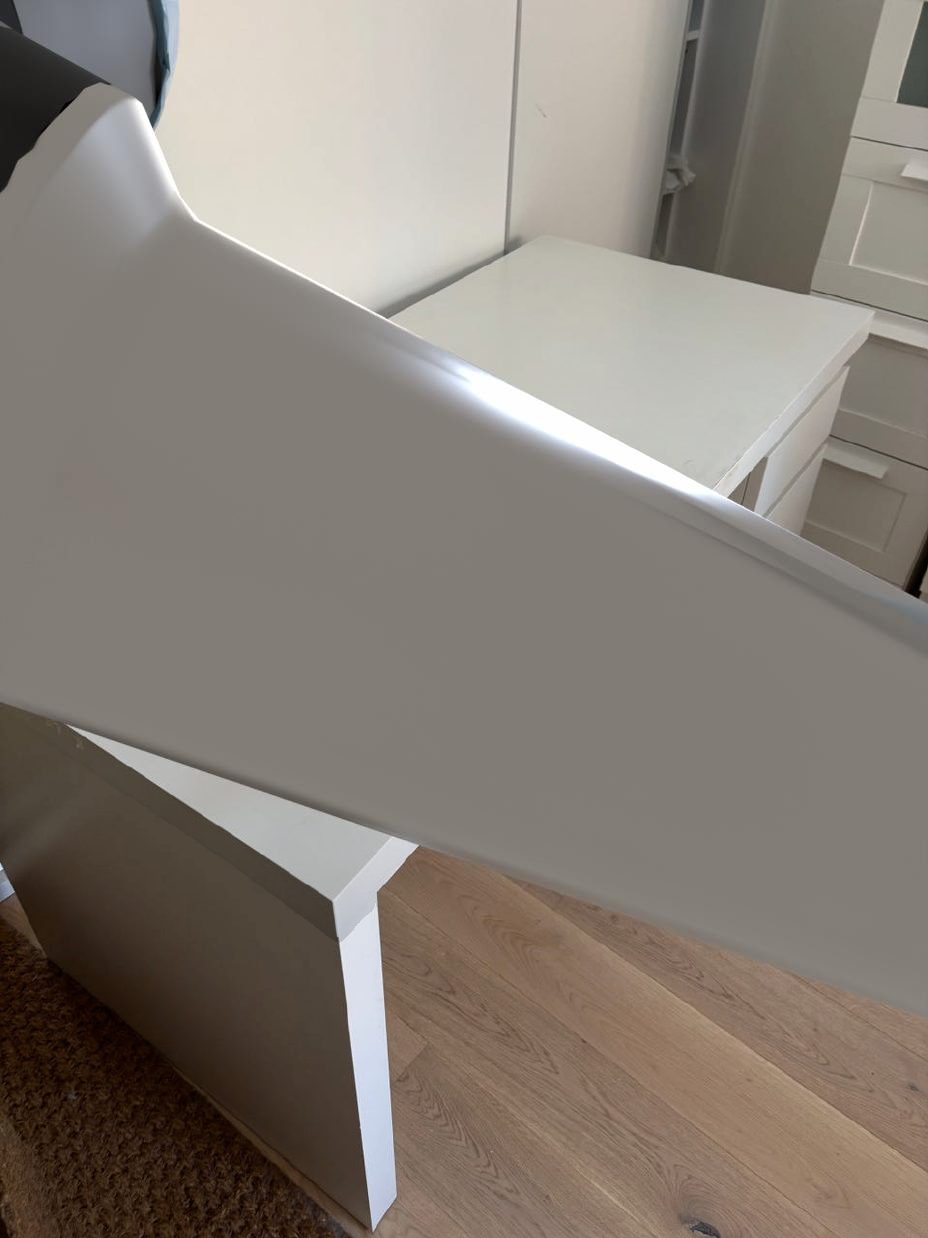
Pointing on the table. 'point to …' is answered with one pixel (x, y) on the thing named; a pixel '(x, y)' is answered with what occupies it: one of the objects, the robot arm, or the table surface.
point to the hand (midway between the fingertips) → (409, 543)
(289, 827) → the table surface
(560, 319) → the table surface
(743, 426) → the table surface
